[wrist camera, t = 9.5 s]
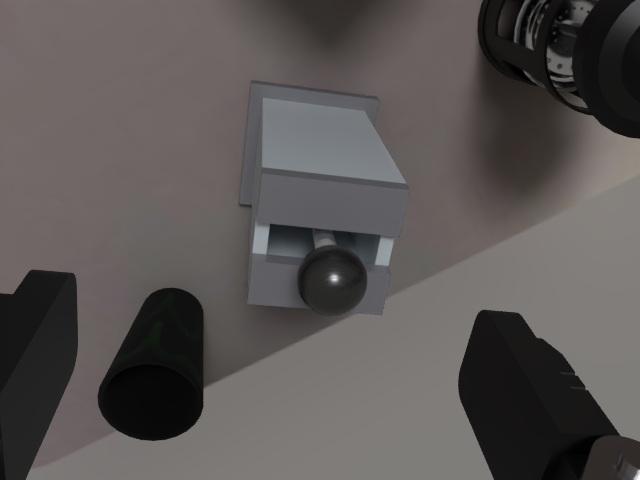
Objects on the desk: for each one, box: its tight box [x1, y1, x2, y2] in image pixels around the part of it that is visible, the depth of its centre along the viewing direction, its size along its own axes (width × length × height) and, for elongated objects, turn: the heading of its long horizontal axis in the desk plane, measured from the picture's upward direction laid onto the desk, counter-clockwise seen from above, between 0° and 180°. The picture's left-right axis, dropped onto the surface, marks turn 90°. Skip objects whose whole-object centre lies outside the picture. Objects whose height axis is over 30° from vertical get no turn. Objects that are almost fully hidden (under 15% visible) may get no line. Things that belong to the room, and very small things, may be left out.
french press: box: [478, 0, 640, 139], centre depth 37 cm, size 12×9×23 cm
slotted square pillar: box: [239, 80, 410, 315], centre depth 42 cm, size 10×10×18 cm
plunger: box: [297, 228, 368, 316], centre depth 37 cm, size 6×6×17 cm
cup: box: [98, 288, 203, 441], centre depth 51 cm, size 8×8×12 cm
